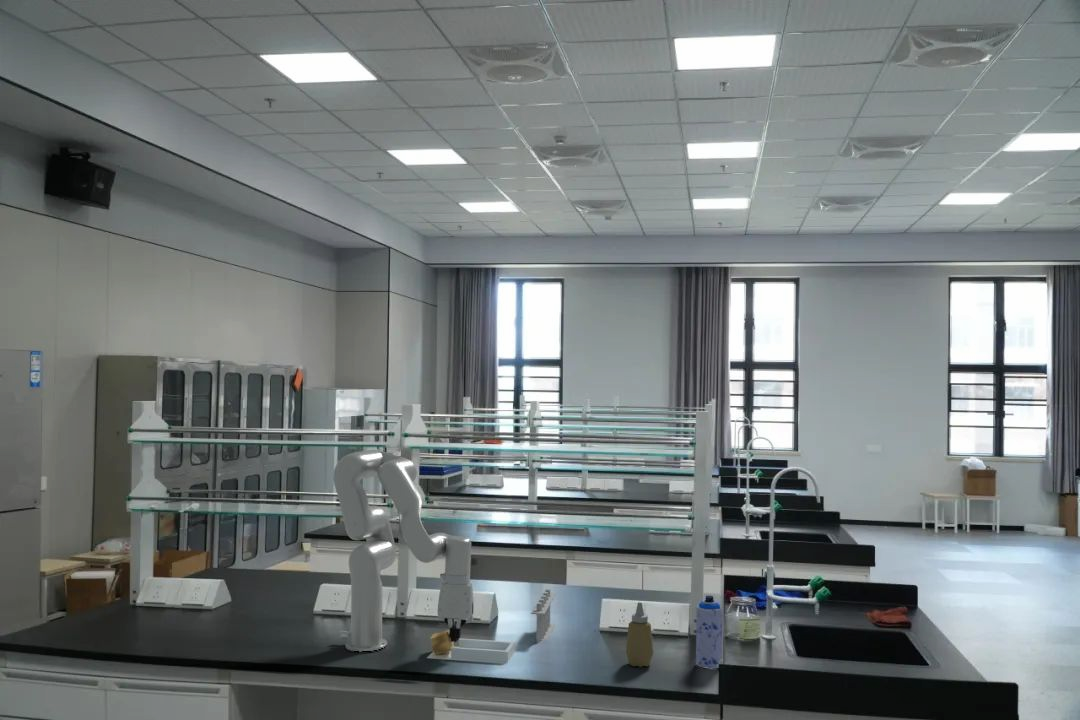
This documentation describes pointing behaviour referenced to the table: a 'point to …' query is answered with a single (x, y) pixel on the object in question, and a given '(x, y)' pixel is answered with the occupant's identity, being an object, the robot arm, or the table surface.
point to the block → (441, 642)
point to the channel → (479, 651)
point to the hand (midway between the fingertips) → (454, 640)
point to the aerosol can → (708, 633)
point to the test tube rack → (544, 616)
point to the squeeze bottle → (639, 639)
